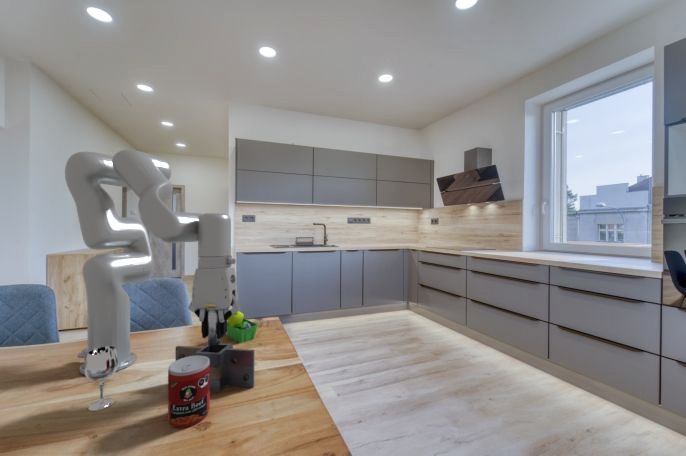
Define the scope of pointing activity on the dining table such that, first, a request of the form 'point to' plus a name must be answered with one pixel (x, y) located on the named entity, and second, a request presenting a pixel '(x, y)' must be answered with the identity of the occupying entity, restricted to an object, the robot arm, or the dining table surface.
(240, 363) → the hinge leaf
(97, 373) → the wineglass
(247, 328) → the fruit basket
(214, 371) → the hinge leaf
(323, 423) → the dining table surface
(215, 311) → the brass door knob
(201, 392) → the canned food
